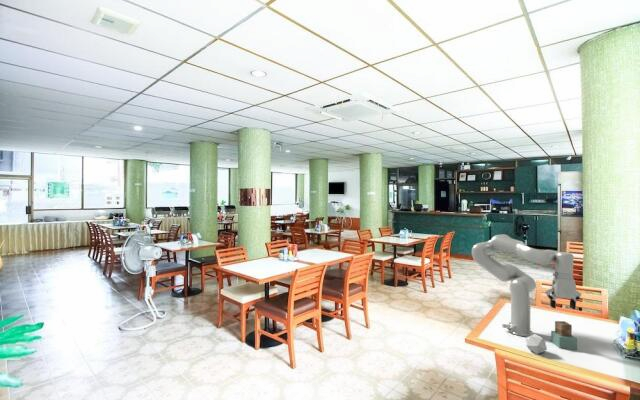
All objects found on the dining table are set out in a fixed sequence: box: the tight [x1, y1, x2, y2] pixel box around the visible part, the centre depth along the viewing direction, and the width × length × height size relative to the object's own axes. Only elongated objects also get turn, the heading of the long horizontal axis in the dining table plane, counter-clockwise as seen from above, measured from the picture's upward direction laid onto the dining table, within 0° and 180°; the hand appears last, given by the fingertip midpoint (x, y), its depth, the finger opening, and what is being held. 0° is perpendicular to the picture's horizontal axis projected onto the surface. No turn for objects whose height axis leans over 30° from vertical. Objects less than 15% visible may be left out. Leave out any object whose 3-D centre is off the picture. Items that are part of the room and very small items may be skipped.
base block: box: [550, 330, 578, 351], centre depth 167 cm, size 8×8×6 cm
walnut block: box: [554, 320, 573, 337], centre depth 167 cm, size 5×5×6 cm
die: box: [524, 333, 547, 355], centre depth 159 cm, size 8×9×10 cm
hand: (562, 307), depth 167 cm, fingers open, 9 cm apart
